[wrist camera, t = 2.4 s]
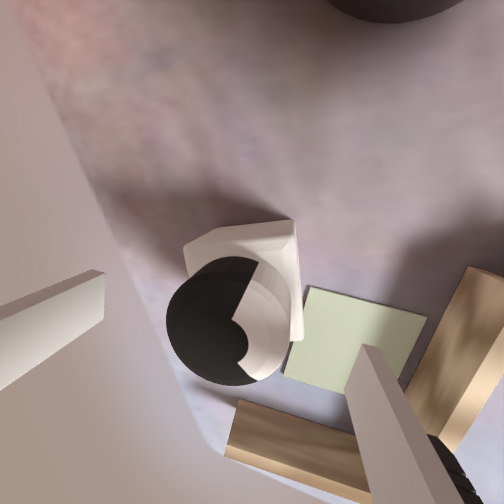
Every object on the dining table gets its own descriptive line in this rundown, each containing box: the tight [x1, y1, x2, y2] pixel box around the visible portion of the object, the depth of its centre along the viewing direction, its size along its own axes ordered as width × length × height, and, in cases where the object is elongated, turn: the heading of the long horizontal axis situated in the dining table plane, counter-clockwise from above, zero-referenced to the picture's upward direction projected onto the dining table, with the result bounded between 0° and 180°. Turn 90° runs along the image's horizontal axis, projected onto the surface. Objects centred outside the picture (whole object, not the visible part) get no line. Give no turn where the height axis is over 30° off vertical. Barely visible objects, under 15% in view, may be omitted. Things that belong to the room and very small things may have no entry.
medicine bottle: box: [166, 219, 304, 386], centre depth 17 cm, size 7×7×12 cm
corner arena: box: [224, 266, 504, 504], centre depth 21 cm, size 21×16×5 cm
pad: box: [283, 286, 427, 395], centre depth 23 cm, size 10×10×1 cm
